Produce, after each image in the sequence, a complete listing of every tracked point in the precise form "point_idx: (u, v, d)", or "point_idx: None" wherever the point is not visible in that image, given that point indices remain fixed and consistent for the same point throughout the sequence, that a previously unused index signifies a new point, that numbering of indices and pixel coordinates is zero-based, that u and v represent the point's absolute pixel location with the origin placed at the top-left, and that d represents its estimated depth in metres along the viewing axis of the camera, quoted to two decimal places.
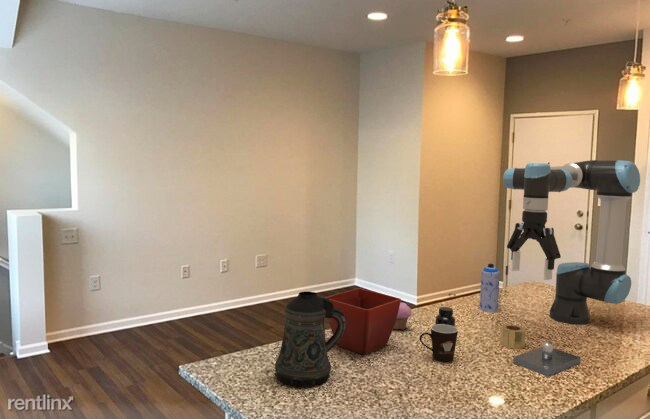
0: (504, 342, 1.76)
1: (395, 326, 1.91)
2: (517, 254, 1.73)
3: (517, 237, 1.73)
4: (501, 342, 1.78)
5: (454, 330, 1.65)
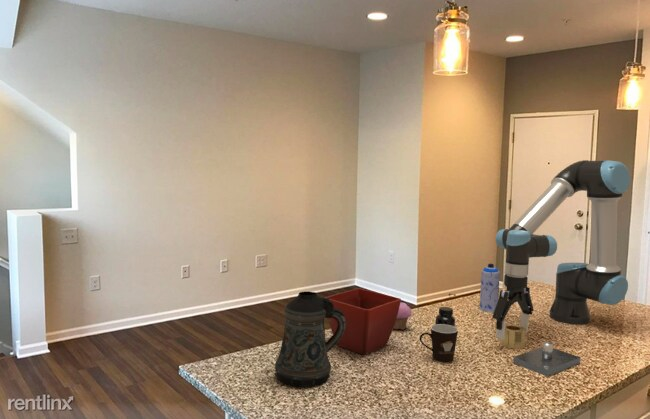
0: (504, 342, 1.76)
1: (395, 326, 1.91)
2: (523, 316, 1.81)
3: (527, 300, 1.81)
4: (501, 342, 1.78)
5: (454, 330, 1.65)
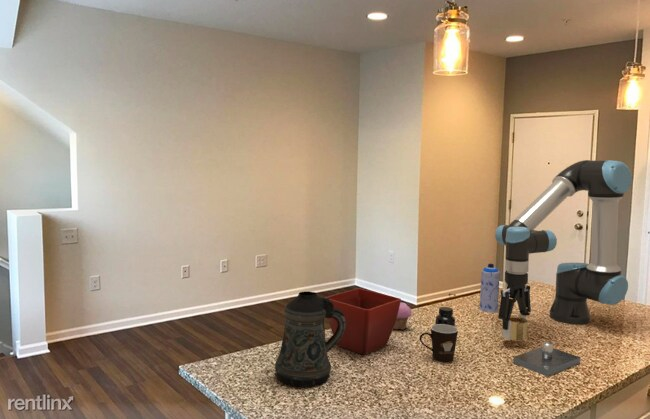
0: None
1: (395, 326, 1.91)
2: None
3: (525, 299, 1.80)
4: None
5: (454, 330, 1.65)
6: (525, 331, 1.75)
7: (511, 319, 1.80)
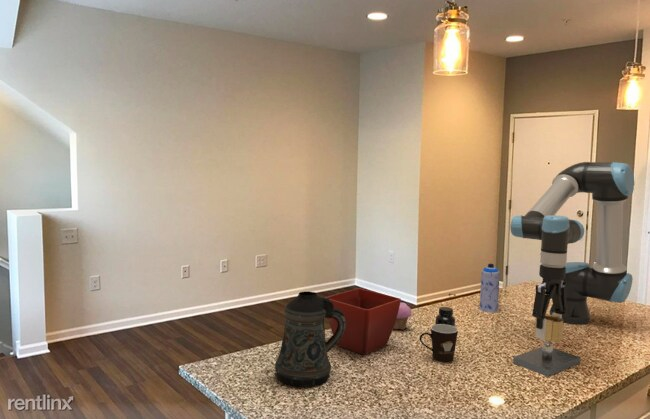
0: None
1: (395, 326, 1.91)
2: None
3: (561, 296, 1.63)
4: None
5: (454, 330, 1.65)
6: (561, 331, 1.58)
7: (545, 318, 1.63)
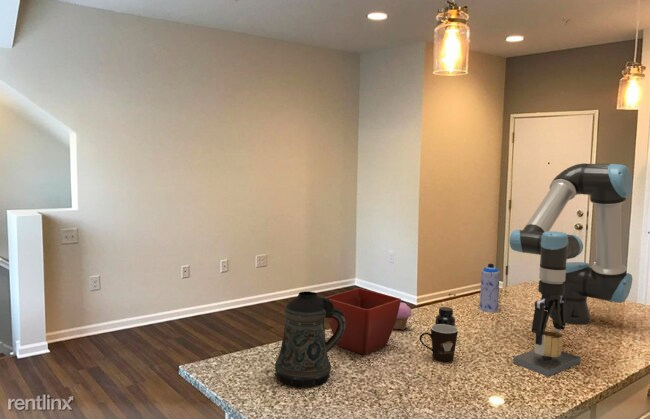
0: None
1: (395, 326, 1.91)
2: None
3: (560, 312, 1.64)
4: None
5: (454, 330, 1.65)
6: (560, 347, 1.59)
7: (544, 333, 1.64)
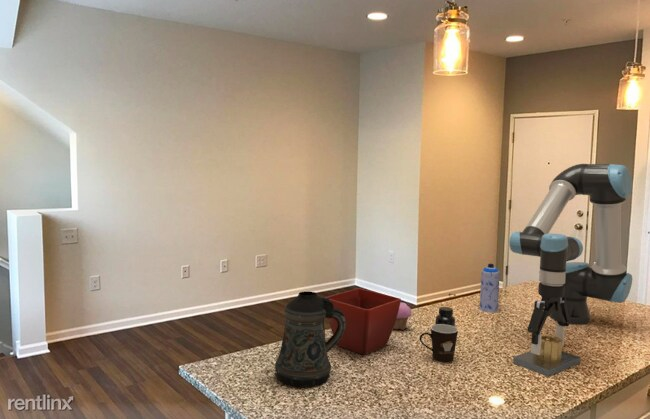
0: None
1: (395, 326, 1.91)
2: (559, 329, 1.65)
3: (562, 311, 1.65)
4: (535, 354, 1.62)
5: (454, 330, 1.65)
6: (560, 352, 1.59)
7: (544, 338, 1.64)
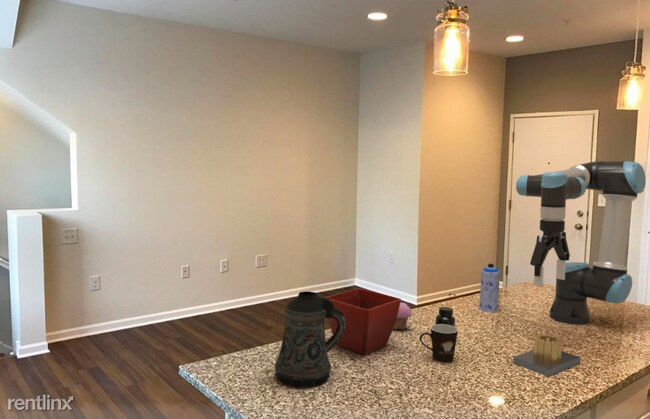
0: (539, 354, 1.60)
1: (395, 326, 1.91)
2: (560, 263, 1.73)
3: (563, 246, 1.73)
4: (535, 354, 1.62)
5: (454, 330, 1.65)
6: (560, 352, 1.59)
7: (544, 338, 1.64)
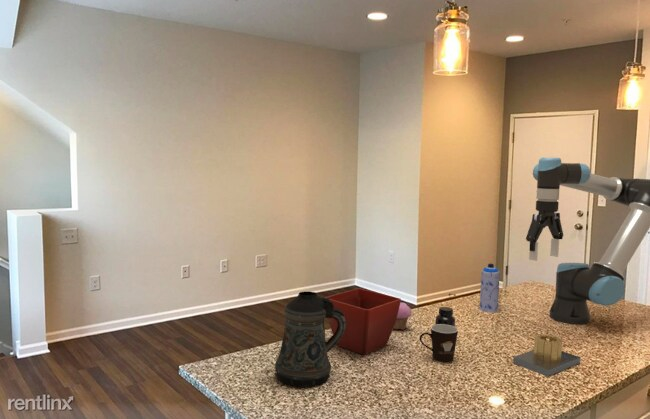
0: (539, 354, 1.60)
1: (395, 326, 1.91)
2: (554, 241, 1.90)
3: (557, 226, 1.89)
4: (535, 354, 1.62)
5: (454, 330, 1.65)
6: (560, 352, 1.59)
7: (544, 338, 1.64)
